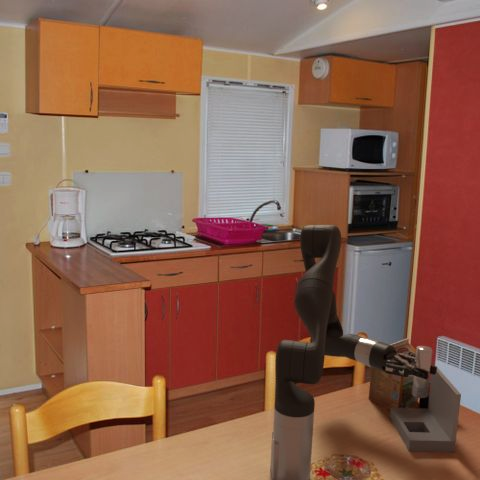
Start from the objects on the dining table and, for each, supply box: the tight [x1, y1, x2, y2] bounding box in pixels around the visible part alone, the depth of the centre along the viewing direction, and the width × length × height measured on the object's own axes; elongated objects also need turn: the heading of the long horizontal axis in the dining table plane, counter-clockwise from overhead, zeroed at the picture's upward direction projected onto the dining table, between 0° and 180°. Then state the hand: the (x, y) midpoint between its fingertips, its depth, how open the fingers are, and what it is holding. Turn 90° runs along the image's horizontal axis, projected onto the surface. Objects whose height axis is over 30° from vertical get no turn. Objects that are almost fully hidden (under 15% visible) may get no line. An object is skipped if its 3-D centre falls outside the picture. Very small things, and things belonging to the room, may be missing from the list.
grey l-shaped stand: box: [389, 365, 462, 453], centre depth 161 cm, size 12×18×16 cm, turn 1°
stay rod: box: [412, 345, 433, 399], centre depth 157 cm, size 4×4×13 cm
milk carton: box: [368, 338, 419, 410], centre depth 181 cm, size 11×11×19 cm
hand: (432, 373), depth 155 cm, fingers closed on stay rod, 4 cm apart
